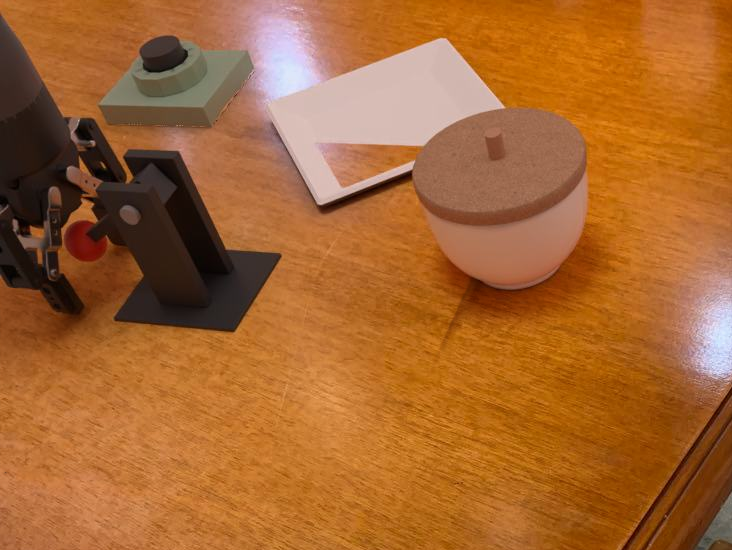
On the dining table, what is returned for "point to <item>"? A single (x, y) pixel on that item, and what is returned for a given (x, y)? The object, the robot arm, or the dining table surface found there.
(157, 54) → the power button
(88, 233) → the red knobbed lever
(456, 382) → the dining table surface
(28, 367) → the dining table surface
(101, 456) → the dining table surface
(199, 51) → the green button base
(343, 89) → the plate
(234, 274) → the lever stand
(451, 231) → the lidded bowl
